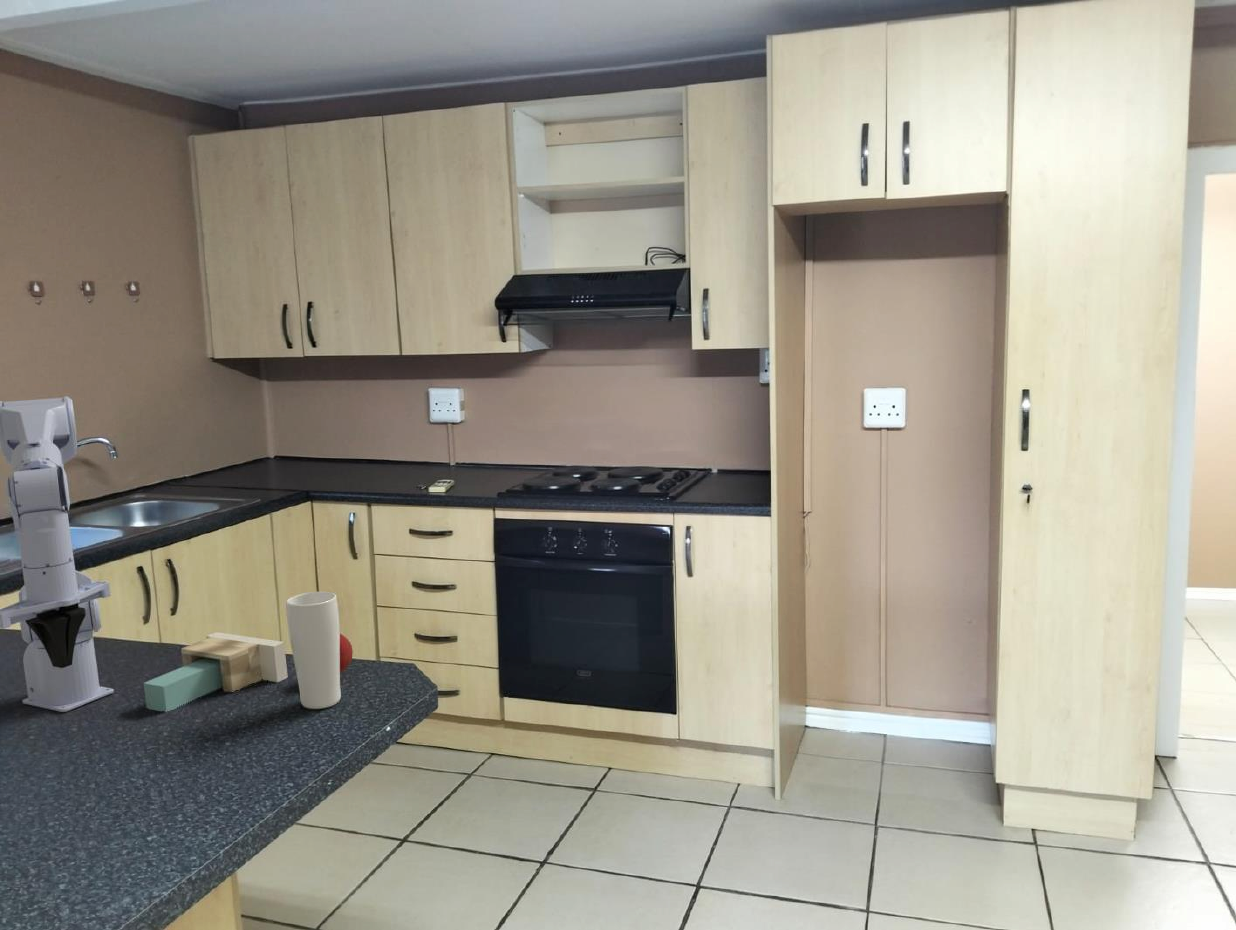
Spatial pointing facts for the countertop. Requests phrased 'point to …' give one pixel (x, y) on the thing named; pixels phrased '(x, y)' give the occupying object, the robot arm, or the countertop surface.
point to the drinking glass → (315, 647)
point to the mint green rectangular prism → (183, 684)
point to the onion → (345, 653)
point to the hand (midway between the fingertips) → (62, 665)
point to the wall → (264, 655)
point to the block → (228, 660)
